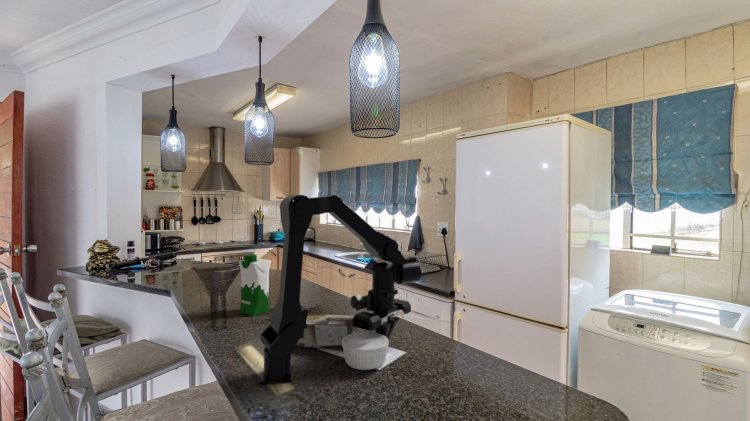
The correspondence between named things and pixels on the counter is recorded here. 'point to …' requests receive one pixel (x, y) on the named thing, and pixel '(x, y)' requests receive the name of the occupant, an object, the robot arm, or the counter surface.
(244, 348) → the counter surface
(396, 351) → the panel
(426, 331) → the counter surface
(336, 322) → the coffee box
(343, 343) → the ramekin
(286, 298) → the robot arm
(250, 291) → the milk carton
